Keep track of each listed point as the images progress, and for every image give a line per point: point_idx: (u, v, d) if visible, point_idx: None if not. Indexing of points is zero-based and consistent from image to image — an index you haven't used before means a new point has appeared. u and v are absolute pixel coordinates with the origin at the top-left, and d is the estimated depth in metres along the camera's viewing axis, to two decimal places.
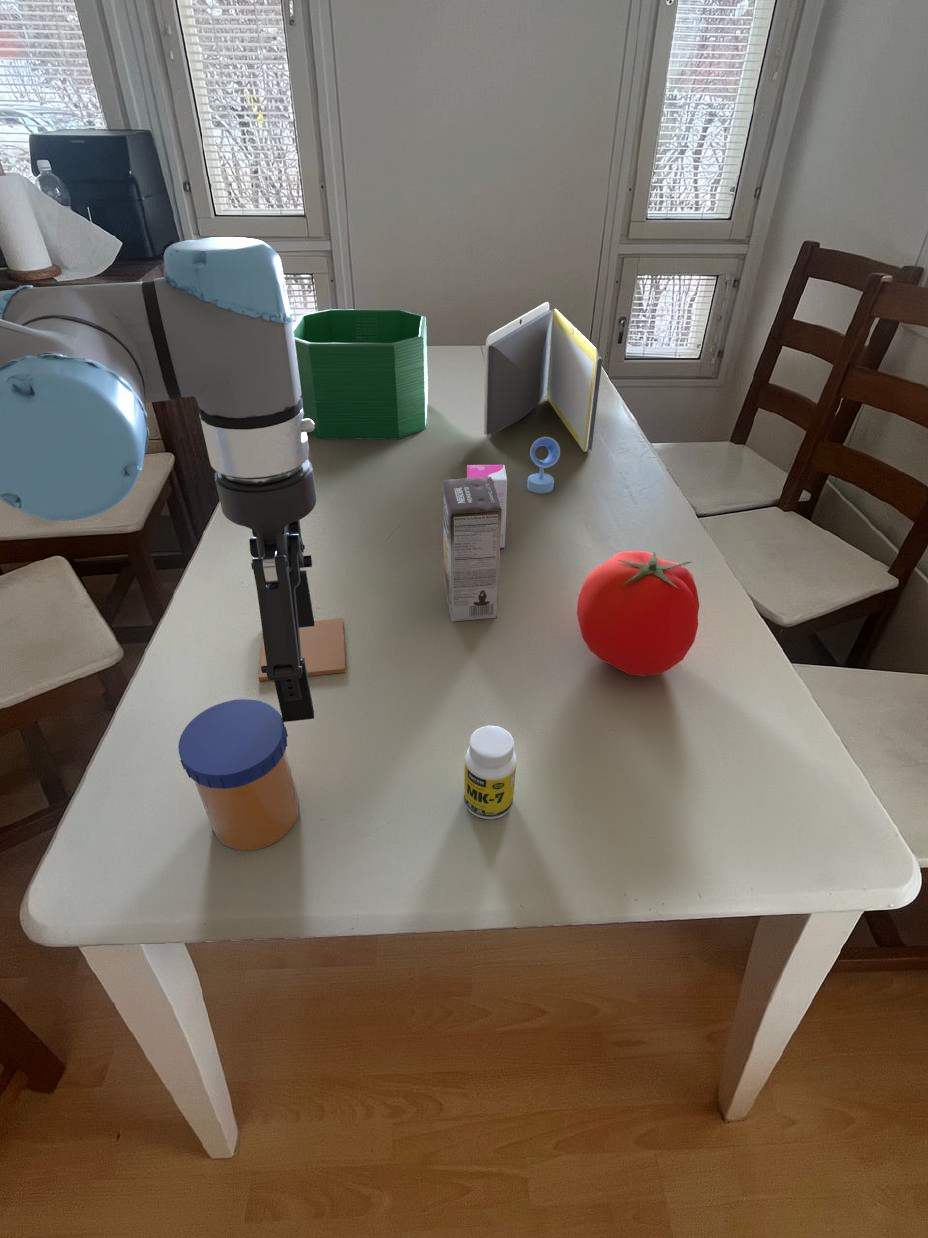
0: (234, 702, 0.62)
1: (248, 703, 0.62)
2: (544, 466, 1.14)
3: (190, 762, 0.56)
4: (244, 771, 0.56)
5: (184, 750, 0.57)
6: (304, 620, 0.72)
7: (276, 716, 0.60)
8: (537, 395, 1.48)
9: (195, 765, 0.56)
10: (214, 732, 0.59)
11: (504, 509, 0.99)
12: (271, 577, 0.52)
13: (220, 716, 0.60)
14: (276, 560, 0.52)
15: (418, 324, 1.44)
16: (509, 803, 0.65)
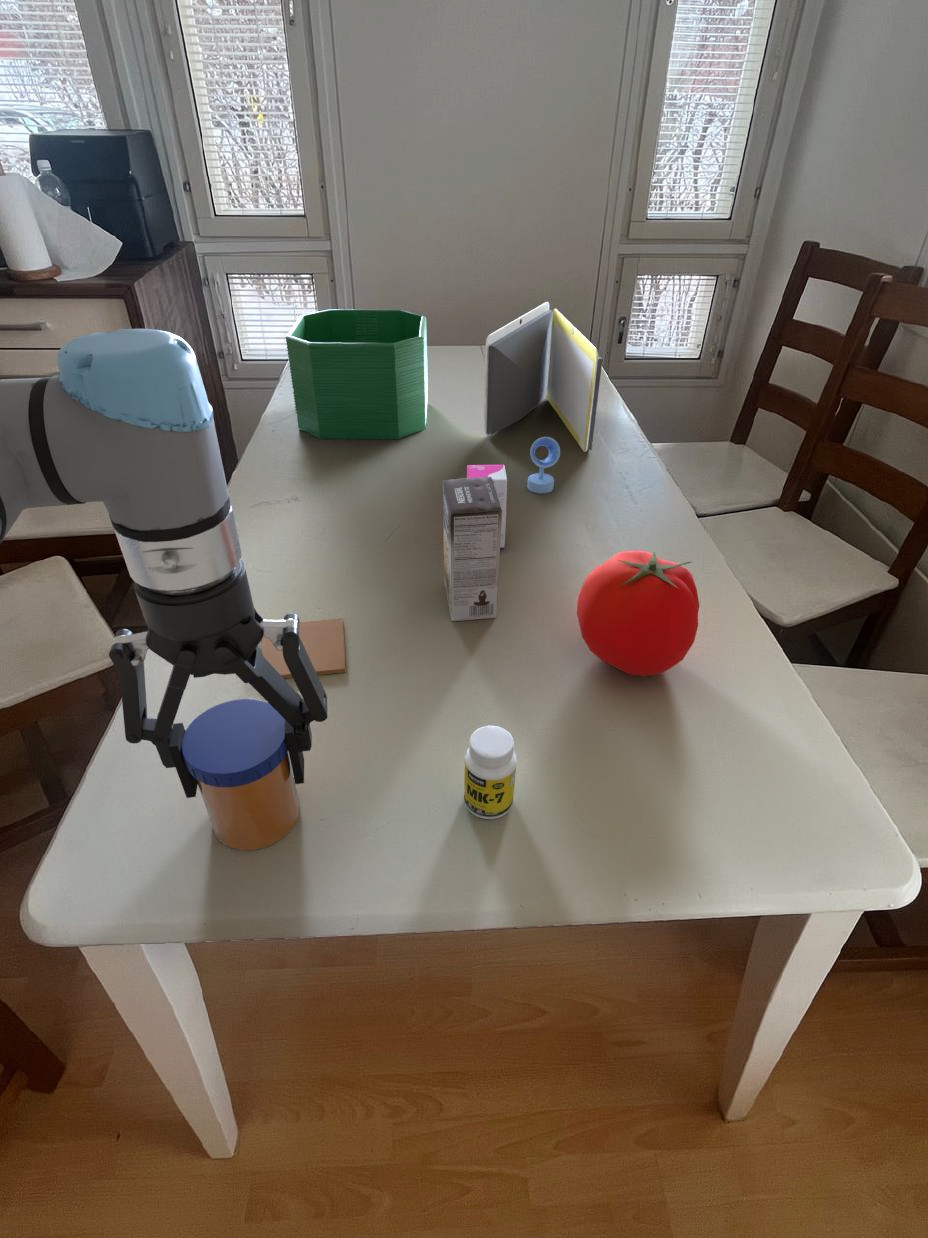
0: (232, 702, 0.62)
1: (247, 703, 0.62)
2: (544, 466, 1.14)
3: (196, 763, 0.56)
4: (252, 768, 0.56)
5: (188, 752, 0.57)
6: None
7: (277, 713, 0.61)
8: (537, 395, 1.48)
9: (201, 765, 0.56)
10: (216, 732, 0.59)
11: (504, 509, 0.99)
12: None
13: (220, 717, 0.60)
14: None
15: (418, 324, 1.44)
16: (509, 803, 0.65)
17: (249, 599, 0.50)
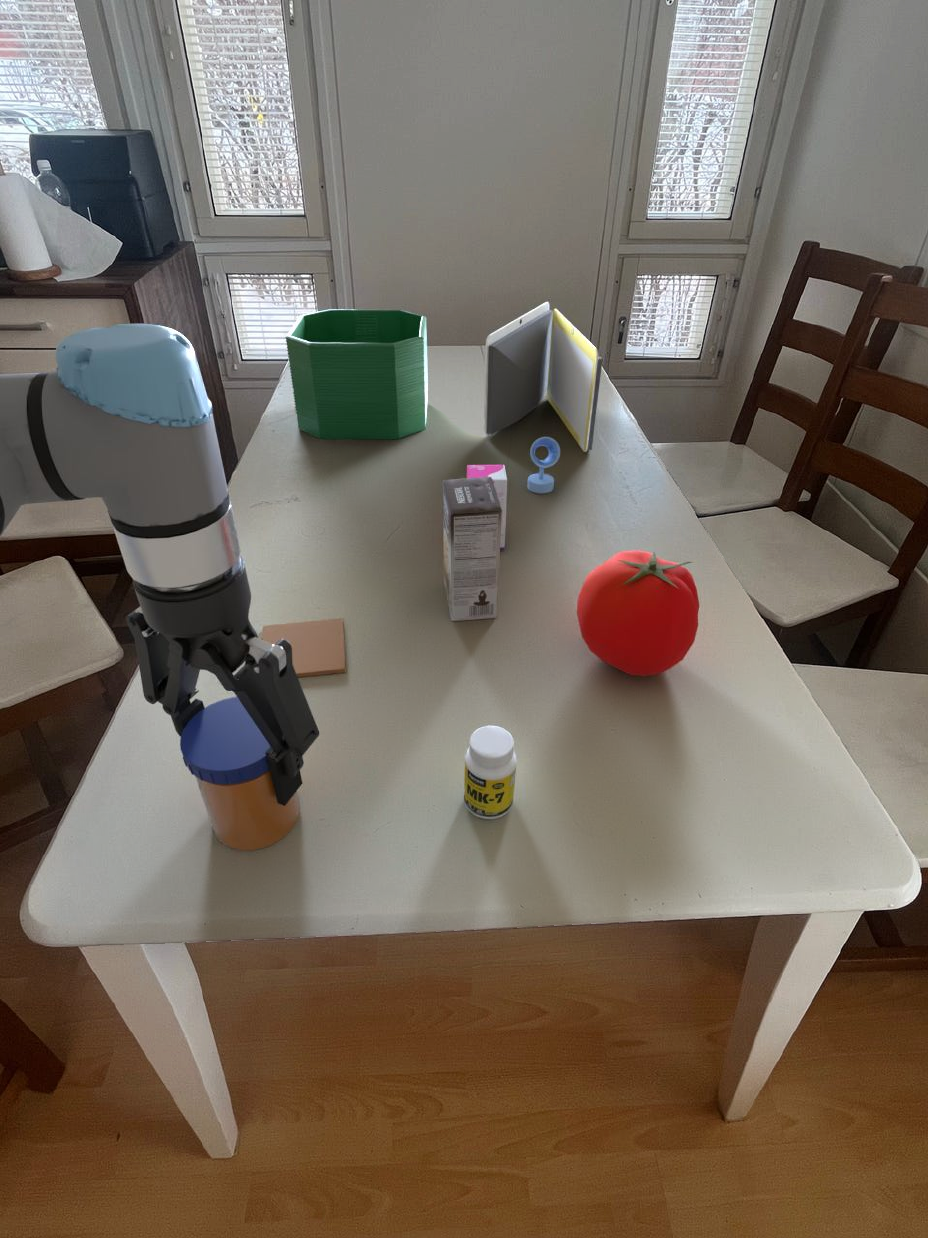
0: (207, 765, 0.56)
1: (196, 759, 0.56)
2: (544, 466, 1.14)
3: None
4: None
5: None
6: None
7: (186, 733, 0.58)
8: (537, 395, 1.48)
9: None
10: (245, 739, 0.58)
11: (504, 509, 0.99)
12: (282, 665, 0.51)
13: (229, 755, 0.56)
14: (284, 647, 0.50)
15: (418, 324, 1.44)
16: (509, 803, 0.65)
17: None
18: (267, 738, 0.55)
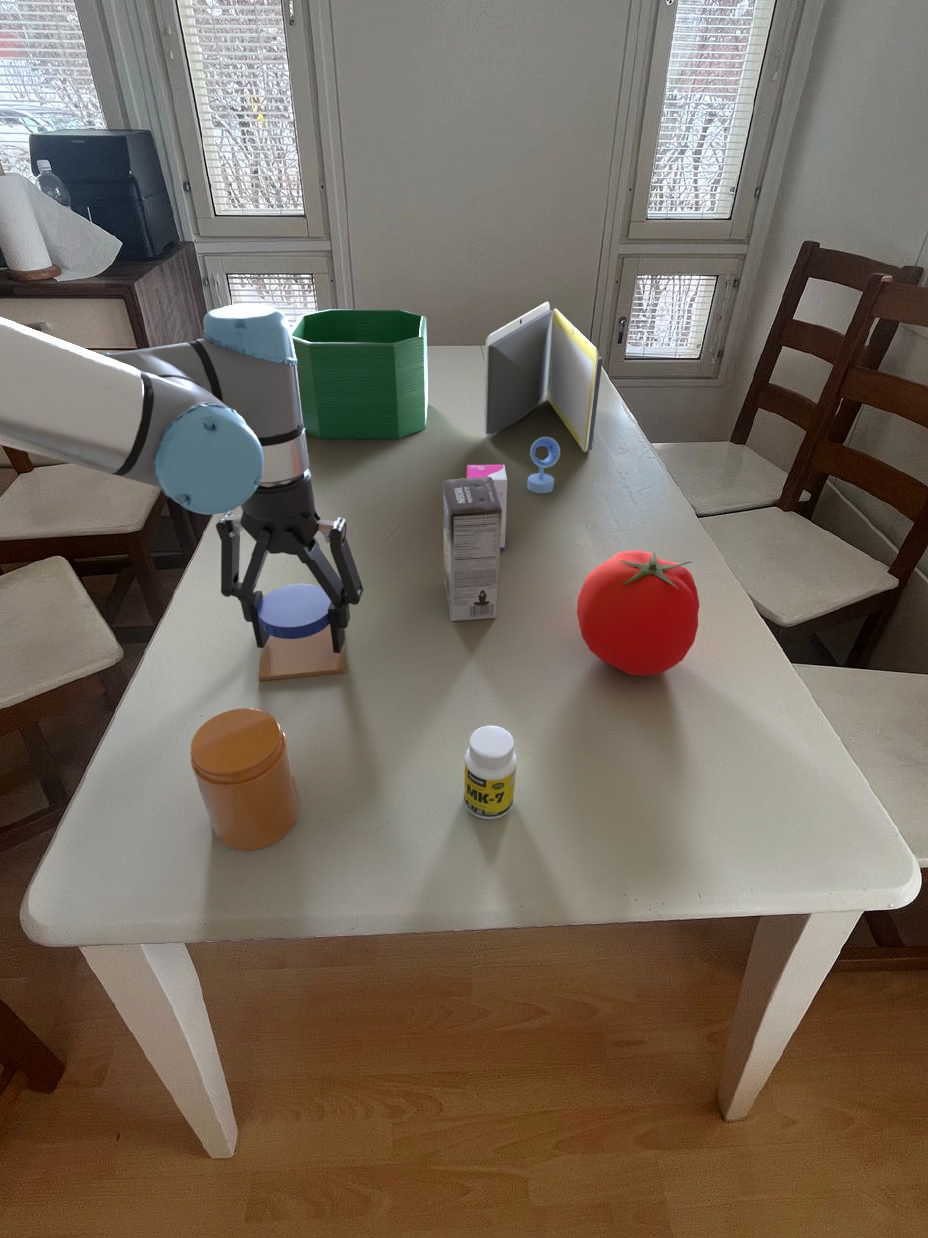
0: (289, 625, 0.77)
1: (278, 623, 0.78)
2: (544, 466, 1.14)
3: (324, 592, 0.83)
4: None
5: (328, 599, 0.81)
6: None
7: (260, 612, 0.79)
8: (537, 395, 1.48)
9: (321, 590, 0.83)
10: (306, 607, 0.80)
11: (504, 509, 0.99)
12: (343, 535, 0.74)
13: (301, 617, 0.79)
14: (343, 522, 0.74)
15: (418, 324, 1.44)
16: (509, 803, 0.65)
17: None
18: (330, 596, 0.78)
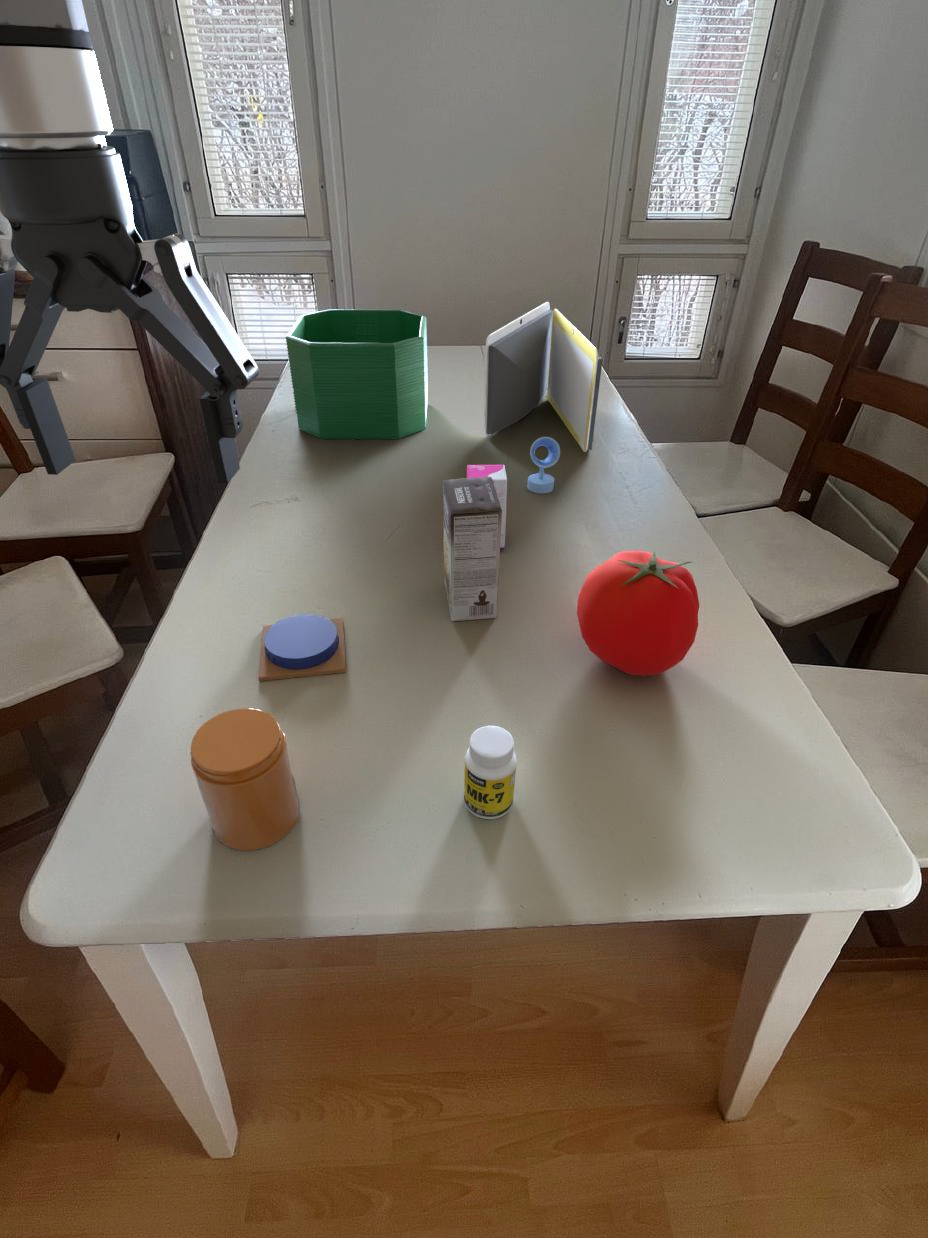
0: (295, 656, 0.80)
1: (285, 654, 0.80)
2: (544, 466, 1.14)
3: (329, 622, 0.85)
4: None
5: (333, 629, 0.84)
6: (66, 454, 0.54)
7: (267, 643, 0.82)
8: (537, 395, 1.48)
9: (326, 620, 0.86)
10: (312, 638, 0.83)
11: (504, 509, 0.99)
12: (185, 259, 0.45)
13: (307, 648, 0.81)
14: (178, 236, 0.44)
15: (418, 324, 1.44)
16: (509, 803, 0.65)
17: None
18: (198, 377, 0.48)
